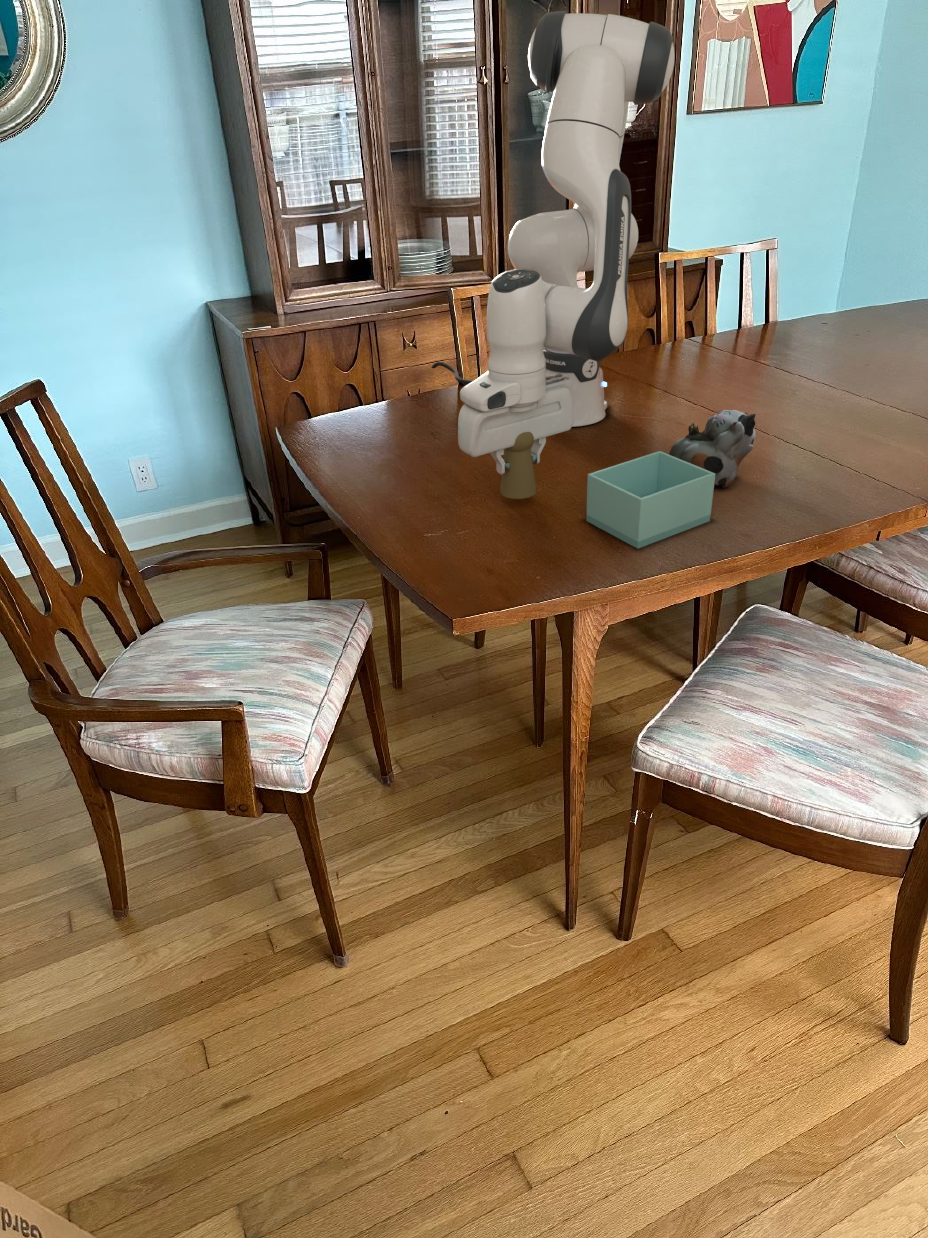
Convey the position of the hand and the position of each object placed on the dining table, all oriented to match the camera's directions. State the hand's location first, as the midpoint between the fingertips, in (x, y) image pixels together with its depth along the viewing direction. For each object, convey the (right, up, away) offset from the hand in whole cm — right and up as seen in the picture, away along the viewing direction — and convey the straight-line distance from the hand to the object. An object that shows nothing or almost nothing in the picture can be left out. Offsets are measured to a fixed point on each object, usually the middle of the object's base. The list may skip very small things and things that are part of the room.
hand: (517, 467), depth 139 cm
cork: (0, -4, +2) cm, 4 cm away
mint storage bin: (+17, -3, -2) cm, 17 cm away
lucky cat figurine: (+33, 0, +9) cm, 35 cm away
